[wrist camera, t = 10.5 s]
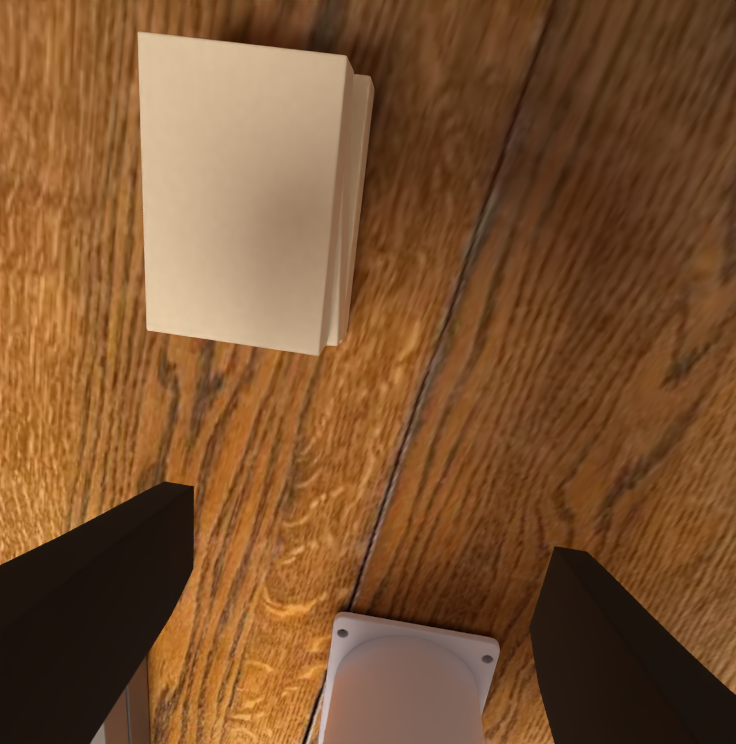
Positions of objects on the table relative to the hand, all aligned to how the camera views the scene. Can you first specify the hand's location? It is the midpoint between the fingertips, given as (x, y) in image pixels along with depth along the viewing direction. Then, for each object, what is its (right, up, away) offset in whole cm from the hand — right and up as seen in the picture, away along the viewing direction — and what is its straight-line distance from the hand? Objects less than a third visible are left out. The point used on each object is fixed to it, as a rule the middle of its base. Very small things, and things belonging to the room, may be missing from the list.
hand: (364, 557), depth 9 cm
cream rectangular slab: (-4, +9, +5) cm, 11 cm away
